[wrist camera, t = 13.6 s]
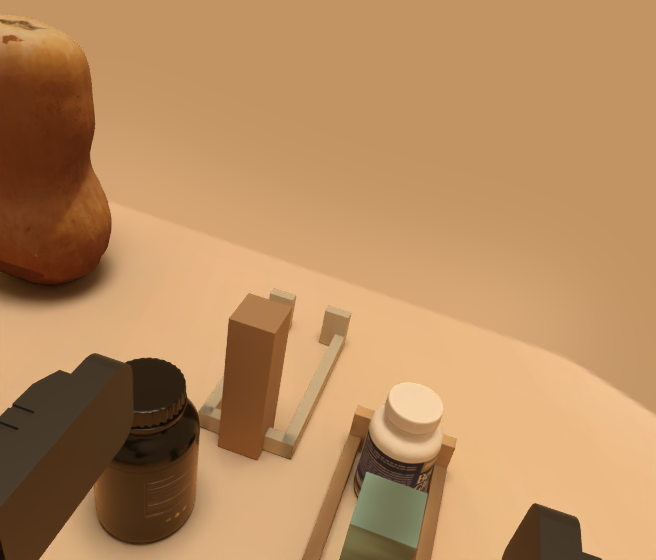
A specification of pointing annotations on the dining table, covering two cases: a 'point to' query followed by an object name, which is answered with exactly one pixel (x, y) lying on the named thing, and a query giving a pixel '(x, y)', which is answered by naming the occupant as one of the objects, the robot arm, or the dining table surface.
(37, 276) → the butternut squash
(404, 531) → the tall sage green pillar
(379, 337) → the dining table surface
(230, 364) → the lane broken
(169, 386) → the supplement bottle
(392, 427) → the pill bottle
